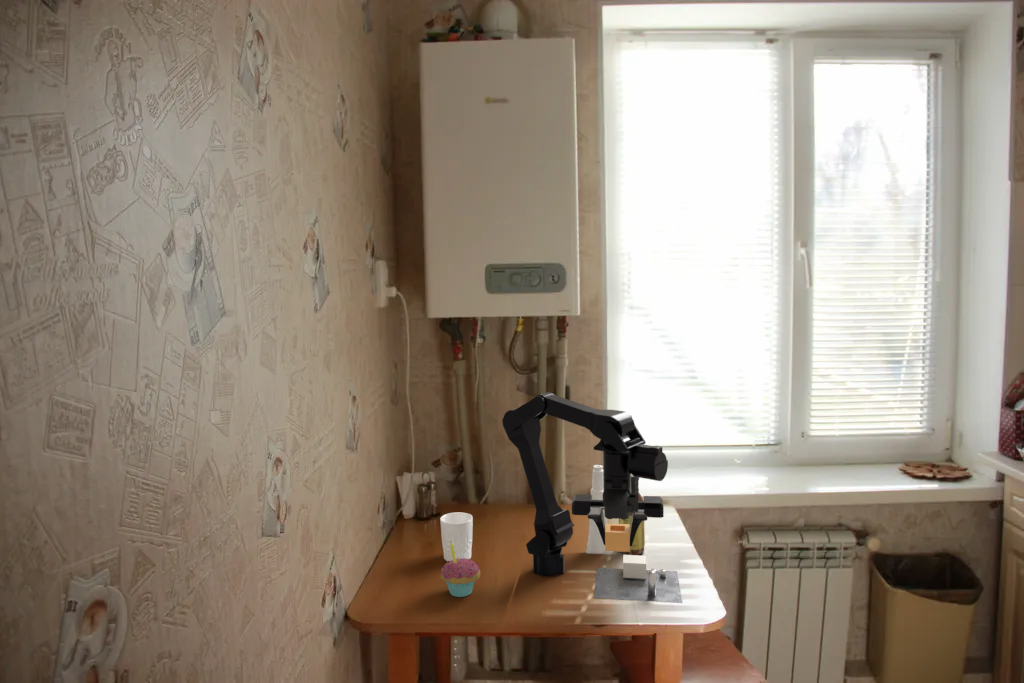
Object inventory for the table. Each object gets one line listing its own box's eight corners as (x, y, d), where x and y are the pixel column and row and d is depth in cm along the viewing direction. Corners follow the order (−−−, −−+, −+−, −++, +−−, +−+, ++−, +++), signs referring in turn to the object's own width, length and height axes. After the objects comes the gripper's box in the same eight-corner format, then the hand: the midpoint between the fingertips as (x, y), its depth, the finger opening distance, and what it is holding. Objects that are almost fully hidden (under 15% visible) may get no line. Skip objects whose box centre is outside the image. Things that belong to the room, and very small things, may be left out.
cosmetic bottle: (599, 546, 179) (599, 461, 177) (616, 554, 174) (615, 466, 172) (581, 552, 176) (580, 465, 173) (597, 560, 171) (596, 471, 168)
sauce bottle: (627, 544, 180) (627, 467, 178) (649, 550, 176) (649, 472, 174) (613, 552, 175) (613, 474, 173) (636, 559, 171) (636, 478, 169)
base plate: (594, 603, 149) (593, 574, 149) (596, 572, 164) (596, 546, 163) (682, 608, 146) (682, 579, 146) (677, 576, 161) (677, 550, 160)
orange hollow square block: (605, 550, 148) (605, 532, 148) (606, 541, 153) (605, 523, 152) (629, 551, 147) (629, 533, 147) (629, 542, 152) (629, 524, 152)
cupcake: (448, 604, 150) (446, 549, 149) (436, 587, 158) (434, 535, 157) (486, 596, 154) (485, 542, 152) (472, 580, 161) (471, 529, 160)
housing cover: (623, 577, 158) (623, 562, 157) (623, 569, 162) (623, 554, 162) (646, 578, 157) (646, 563, 157) (645, 570, 161) (645, 555, 161)
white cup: (459, 548, 180) (458, 509, 179) (480, 557, 174) (479, 517, 173) (434, 557, 174) (433, 518, 173) (455, 567, 169) (454, 526, 168)
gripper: (568, 483, 142) (570, 558, 144) (664, 485, 139) (664, 562, 141) (573, 467, 153) (574, 538, 155) (662, 469, 150) (662, 541, 151)
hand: (617, 545), depth 150 cm, fingers closed on orange hollow square block, 5 cm apart
